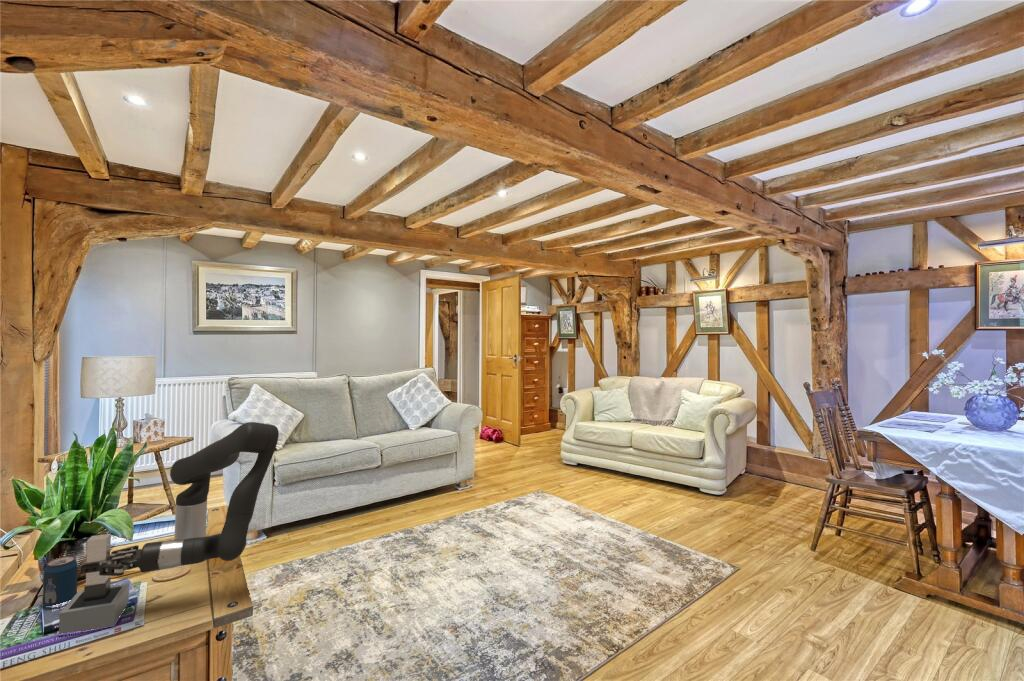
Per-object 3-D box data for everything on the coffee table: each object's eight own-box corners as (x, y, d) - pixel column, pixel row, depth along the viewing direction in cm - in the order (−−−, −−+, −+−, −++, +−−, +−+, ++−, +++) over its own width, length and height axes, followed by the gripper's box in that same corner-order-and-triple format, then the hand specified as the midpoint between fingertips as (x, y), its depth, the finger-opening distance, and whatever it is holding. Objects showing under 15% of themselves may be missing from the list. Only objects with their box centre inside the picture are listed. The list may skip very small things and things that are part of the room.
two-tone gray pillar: (89, 595, 123) (91, 535, 123) (110, 591, 125) (112, 533, 125) (83, 601, 120) (85, 541, 120) (105, 598, 122) (107, 538, 122)
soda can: (77, 593, 134) (79, 552, 134) (75, 604, 129) (77, 561, 129) (43, 601, 129) (45, 559, 129) (40, 613, 124) (42, 569, 124)
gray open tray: (78, 612, 125) (78, 590, 125) (128, 604, 129) (129, 583, 129) (58, 637, 115) (59, 613, 115) (114, 627, 120) (115, 604, 120)
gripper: (170, 531, 135) (95, 541, 127) (157, 552, 122) (72, 564, 115) (169, 557, 135) (94, 567, 127) (156, 580, 122) (71, 593, 114)
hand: (84, 566), depth 121 cm, fingers closed on two-tone gray pillar, 3 cm apart
